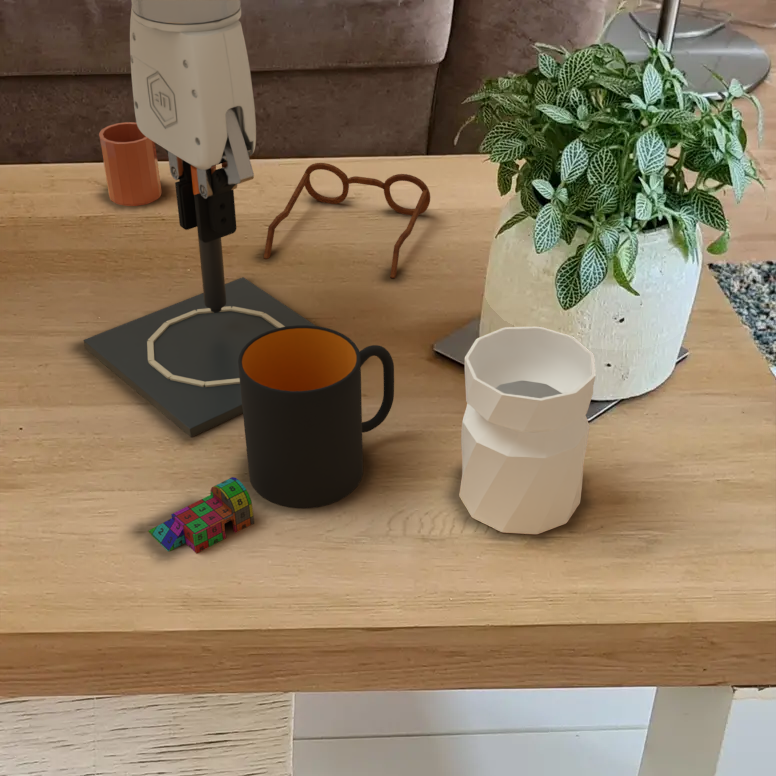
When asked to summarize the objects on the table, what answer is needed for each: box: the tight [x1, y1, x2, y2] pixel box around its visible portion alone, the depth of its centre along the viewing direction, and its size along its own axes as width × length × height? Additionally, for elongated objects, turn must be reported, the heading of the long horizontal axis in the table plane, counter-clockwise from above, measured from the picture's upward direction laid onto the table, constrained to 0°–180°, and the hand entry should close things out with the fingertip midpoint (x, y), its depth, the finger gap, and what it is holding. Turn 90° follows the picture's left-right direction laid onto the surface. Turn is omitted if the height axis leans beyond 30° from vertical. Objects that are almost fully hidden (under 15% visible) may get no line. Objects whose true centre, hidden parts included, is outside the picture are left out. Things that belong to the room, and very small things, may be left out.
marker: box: [191, 165, 226, 313], centre depth 93 cm, size 2×2×13 cm
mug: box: [238, 325, 395, 509], centre depth 83 cm, size 8×12×10 cm
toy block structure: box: [147, 476, 255, 555], centre depth 79 cm, size 6×4×3 cm
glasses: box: [263, 162, 431, 279], centre depth 112 cm, size 13×13×5 cm
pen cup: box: [98, 121, 163, 207], centre depth 117 cm, size 5×5×7 cm
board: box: [82, 276, 316, 438], centre depth 97 cm, size 16×16×1 cm
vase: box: [458, 326, 597, 535], centre depth 80 cm, size 9×9×12 cm
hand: (208, 228), depth 93 cm, fingers closed on marker, 2 cm apart
